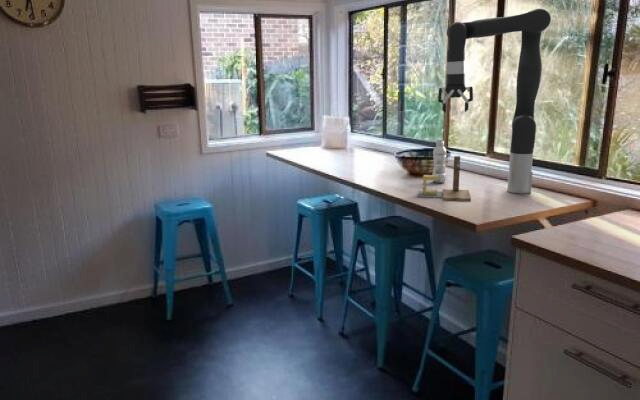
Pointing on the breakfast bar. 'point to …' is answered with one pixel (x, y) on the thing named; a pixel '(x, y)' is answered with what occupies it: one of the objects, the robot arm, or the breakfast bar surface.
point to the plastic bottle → (439, 161)
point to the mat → (420, 194)
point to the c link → (425, 177)
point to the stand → (456, 186)
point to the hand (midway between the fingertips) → (455, 112)
